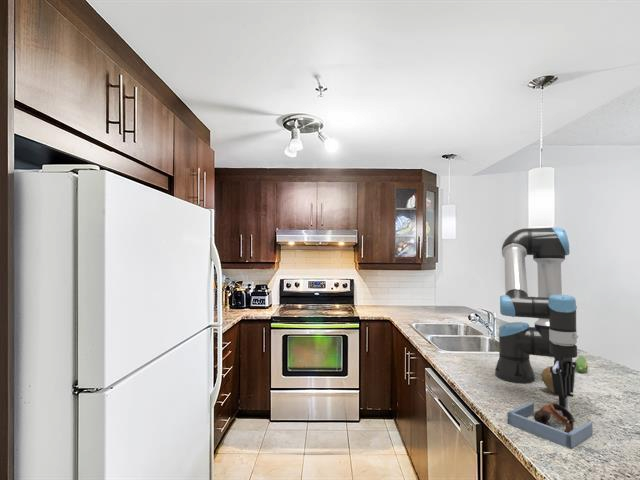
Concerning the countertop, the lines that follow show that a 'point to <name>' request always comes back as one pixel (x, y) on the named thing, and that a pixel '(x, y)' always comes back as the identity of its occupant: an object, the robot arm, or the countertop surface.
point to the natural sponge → (547, 378)
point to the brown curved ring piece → (554, 415)
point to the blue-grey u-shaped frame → (548, 427)
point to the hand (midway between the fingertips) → (564, 416)
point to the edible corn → (581, 364)
